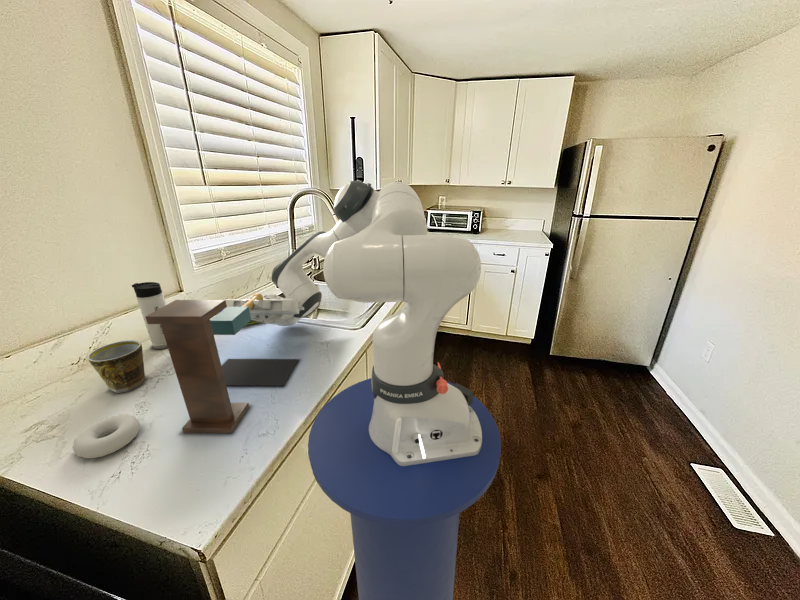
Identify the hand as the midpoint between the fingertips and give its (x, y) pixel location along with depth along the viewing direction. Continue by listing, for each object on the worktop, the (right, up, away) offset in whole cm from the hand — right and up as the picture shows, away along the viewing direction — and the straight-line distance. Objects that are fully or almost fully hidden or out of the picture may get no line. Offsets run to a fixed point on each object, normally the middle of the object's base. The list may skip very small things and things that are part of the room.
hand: (249, 303), depth 83 cm
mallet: (0, -3, -2) cm, 4 cm away
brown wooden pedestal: (0, -25, -14) cm, 29 cm away
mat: (0, -18, +3) cm, 19 cm away
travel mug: (-34, -13, +18) cm, 41 cm away
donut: (-18, -27, -19) cm, 38 cm away
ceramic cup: (-29, -21, -3) cm, 36 cm away
